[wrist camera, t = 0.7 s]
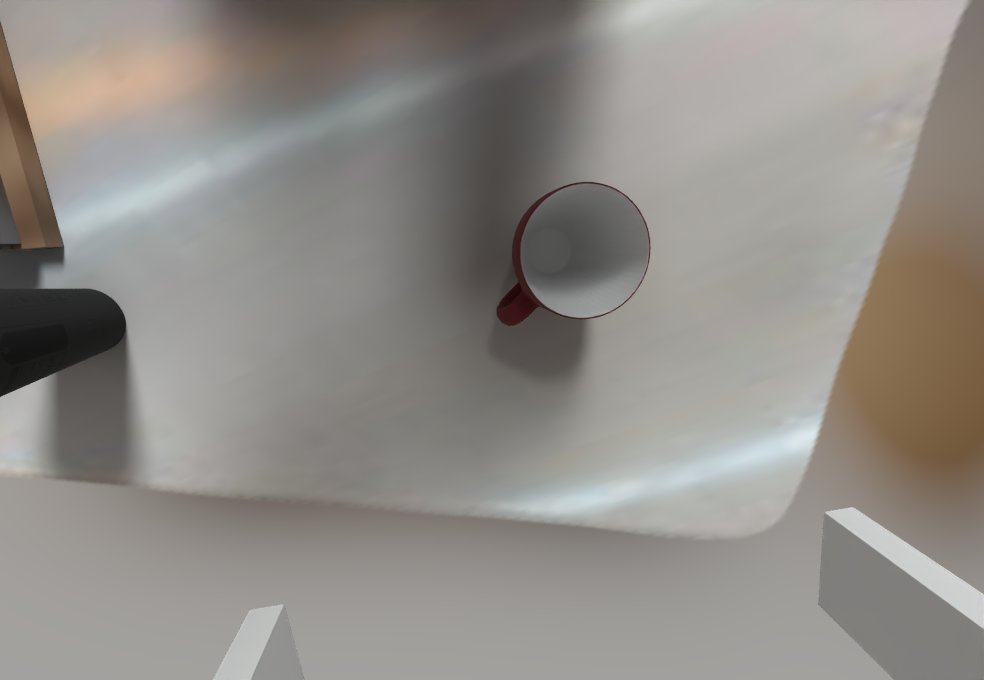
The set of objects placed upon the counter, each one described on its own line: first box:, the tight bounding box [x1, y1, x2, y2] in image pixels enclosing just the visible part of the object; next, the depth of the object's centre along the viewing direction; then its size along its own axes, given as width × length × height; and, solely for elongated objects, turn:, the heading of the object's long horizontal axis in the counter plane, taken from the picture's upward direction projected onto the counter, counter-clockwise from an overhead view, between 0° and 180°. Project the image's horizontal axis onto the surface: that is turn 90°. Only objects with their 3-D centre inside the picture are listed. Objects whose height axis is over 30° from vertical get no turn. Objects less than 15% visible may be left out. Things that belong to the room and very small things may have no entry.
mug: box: [497, 182, 650, 326], centre depth 32 cm, size 11×8×10 cm
